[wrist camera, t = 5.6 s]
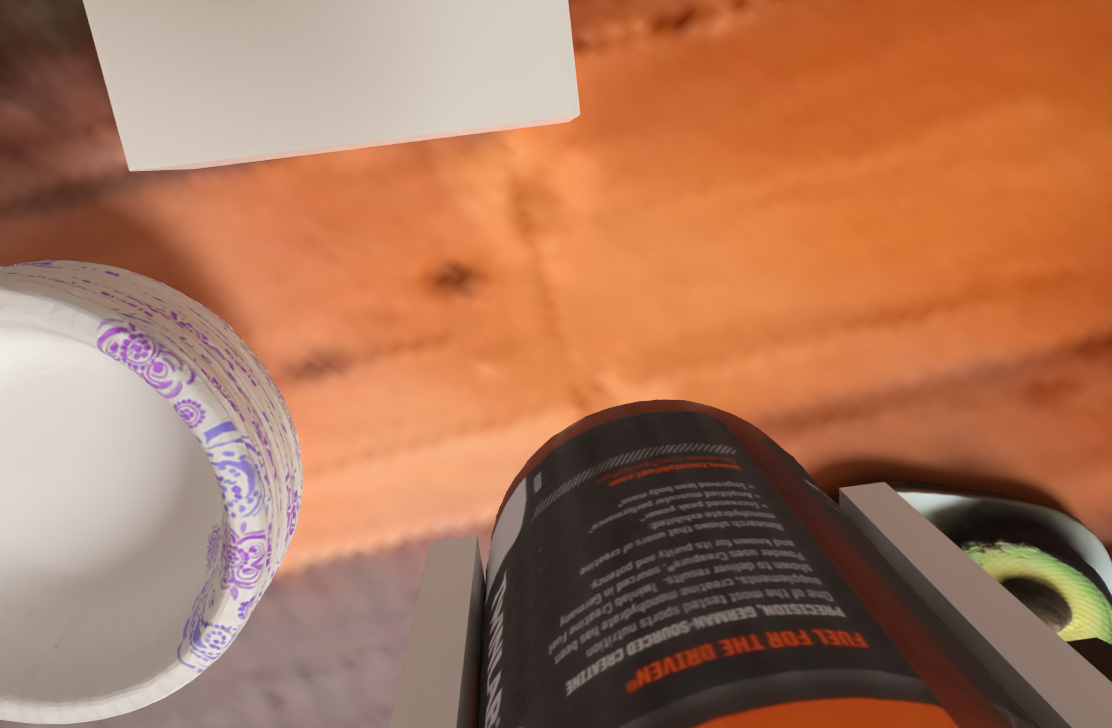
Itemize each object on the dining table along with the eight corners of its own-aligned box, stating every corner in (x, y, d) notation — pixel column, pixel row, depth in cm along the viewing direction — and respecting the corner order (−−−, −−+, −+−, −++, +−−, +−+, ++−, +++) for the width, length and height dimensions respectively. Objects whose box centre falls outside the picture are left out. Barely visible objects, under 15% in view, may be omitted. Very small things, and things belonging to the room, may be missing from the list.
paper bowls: (-146, 344, 28) (-386, 413, 21) (203, 183, 28) (87, 192, 20) (79, 648, 33) (-53, 798, 25) (389, 515, 32) (351, 628, 24)
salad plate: (1006, 837, 39) (1069, 923, 35) (685, 802, 37) (709, 889, 33) (1149, 512, 34) (1244, 564, 30) (789, 452, 32) (834, 498, 28)
